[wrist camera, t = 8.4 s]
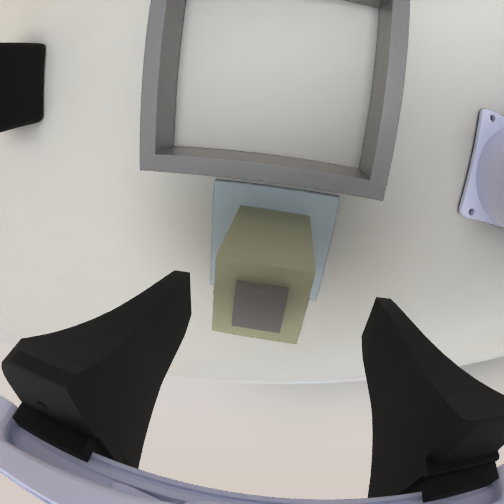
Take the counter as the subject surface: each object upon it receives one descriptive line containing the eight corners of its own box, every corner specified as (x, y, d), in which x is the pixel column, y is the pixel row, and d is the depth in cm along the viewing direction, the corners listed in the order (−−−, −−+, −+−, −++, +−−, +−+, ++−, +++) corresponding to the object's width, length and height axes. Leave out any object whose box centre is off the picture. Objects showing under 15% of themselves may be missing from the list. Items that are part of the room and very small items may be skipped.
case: (393, -57, 10) (434, -111, 3) (370, 185, 19) (411, 238, 12) (186, -74, 11) (140, -129, 4) (160, 159, 20) (94, 196, 13)
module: (309, 215, 20) (316, 278, 13) (297, 274, 22) (296, 350, 15) (240, 205, 20) (213, 261, 13) (234, 264, 22) (210, 336, 16)
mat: (338, 195, 19) (339, 197, 19) (316, 296, 23) (316, 300, 23) (216, 179, 20) (214, 180, 20) (211, 281, 24) (210, 284, 23)
